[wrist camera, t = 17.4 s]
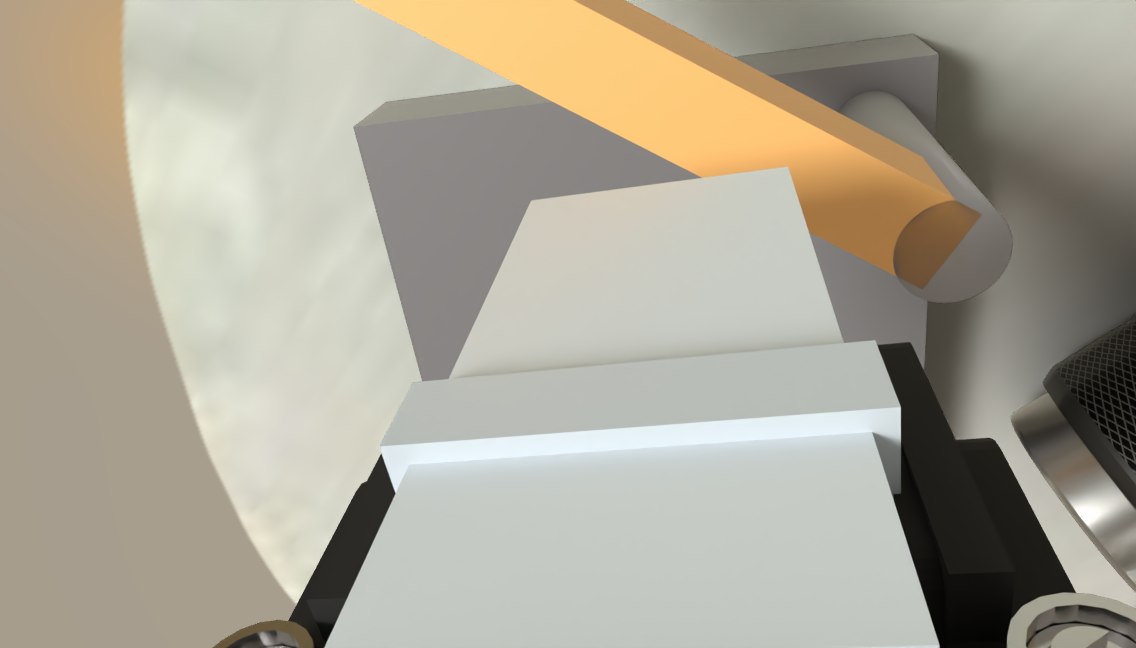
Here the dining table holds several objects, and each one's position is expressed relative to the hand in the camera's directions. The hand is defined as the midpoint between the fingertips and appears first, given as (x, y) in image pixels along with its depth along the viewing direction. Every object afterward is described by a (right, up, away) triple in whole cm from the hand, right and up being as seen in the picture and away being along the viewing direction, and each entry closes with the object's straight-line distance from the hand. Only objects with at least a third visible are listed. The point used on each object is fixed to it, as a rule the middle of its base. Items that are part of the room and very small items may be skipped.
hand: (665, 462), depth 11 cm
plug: (+1, +2, +4) cm, 5 cm away
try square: (+2, +11, +14) cm, 18 cm away
